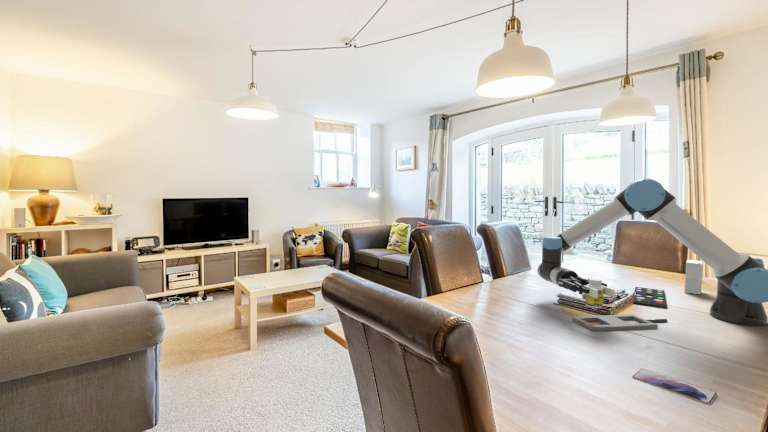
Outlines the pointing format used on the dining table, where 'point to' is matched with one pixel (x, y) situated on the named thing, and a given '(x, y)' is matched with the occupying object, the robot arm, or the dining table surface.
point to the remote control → (650, 297)
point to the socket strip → (616, 322)
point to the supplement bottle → (598, 301)
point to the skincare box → (693, 277)
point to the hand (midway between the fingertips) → (605, 293)
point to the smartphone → (676, 386)
